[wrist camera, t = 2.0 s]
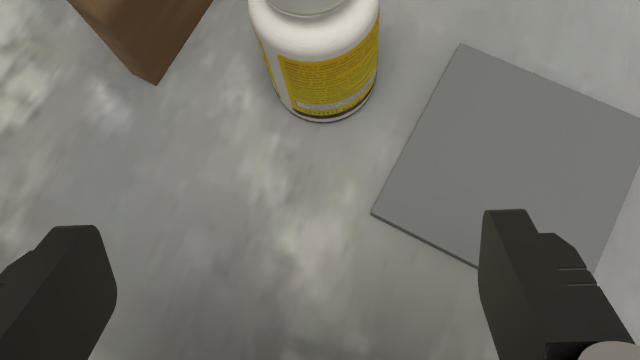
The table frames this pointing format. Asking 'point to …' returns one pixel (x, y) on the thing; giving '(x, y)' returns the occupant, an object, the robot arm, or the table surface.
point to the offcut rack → (143, 30)
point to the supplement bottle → (319, 53)
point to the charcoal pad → (511, 160)
